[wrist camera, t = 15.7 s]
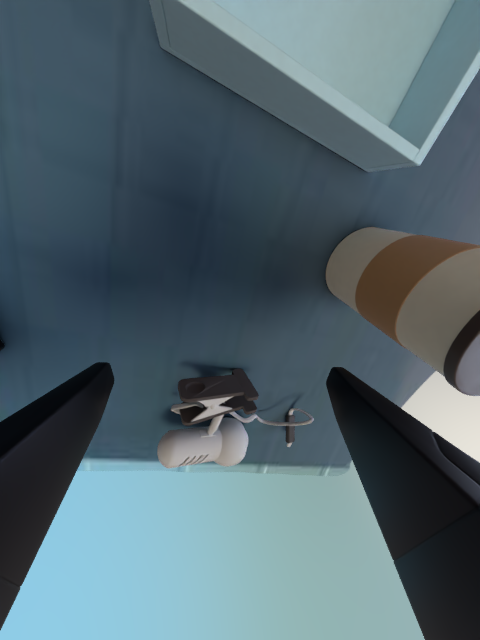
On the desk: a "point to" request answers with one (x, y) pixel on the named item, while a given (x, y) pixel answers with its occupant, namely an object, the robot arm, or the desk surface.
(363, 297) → the cup
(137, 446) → the desk surface
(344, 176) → the desk surface
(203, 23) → the tub
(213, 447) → the clip-on lamp
